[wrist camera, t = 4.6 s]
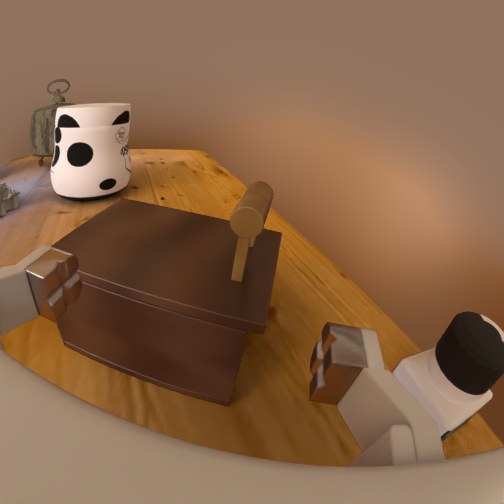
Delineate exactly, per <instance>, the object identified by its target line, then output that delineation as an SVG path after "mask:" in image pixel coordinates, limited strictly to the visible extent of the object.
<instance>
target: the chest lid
mask: <svg viewBox="0 0 504 504" xmlns="http://www.w3.org/2000/svg"><path fill="white" fill-rule="evenodd" d="M272 199H273V190H272V188H271V187H270V186H269V185H268V184H267V183H265V182H261V181H258V182H254V183H253V184H251V185H250V187H249V188H248V189H247V191H246V192H245V194H244V195H243V197H242V199H241V200H240V202H239V203H238V205H237V206H236V208H235V209H234V211H233V213H232V214H231V216H230V221H228V220H224V219H219V218H215V217H210V216H206V215H201V214H196V213H192V212H187V211H182V210H178V209H173V208H168V207H163V206H159V205H154V204H149V203H144V202H139V201H134V200H129V199H124V198H122V199H121V200H119V201H118V202H116V203H114V204H113V205H111V206H110V207H108V208H106V209H105V210H103V211H102V212H100V213H99V214H97V215H95V216H94V217H92V218H91V219H89V220H88V221H86V222H85V223H83V224H82V225H80V226H79V227H78V228H76V229H75V230H73V231H72V232H70V233H69V234H68V235H66V236H65V237H63V238H62V239H60V240H59V241H58V242H56V243H55V244H54V245H52V246H51V247H53V248H56V249H59V250H61V251H64V252H67V253H70V254H72V255H74V256H76V257H77V258H78V263H79V268H78V270H77V272H78V274H79V275H80V277H81V280H82V281H84V282H87V283H90V284H93V285H95V286H98V287H101V288H104V289H107V290H109V291H112V292H115V293H118V294H121V295H124V296H127V297H130V298H133V299H136V300H139V301H142V302H145V303H149V304H152V305H155V306H158V307H161V308H165V309H168V310H171V311H175V312H178V313H182V314H185V315H188V316H192V317H196V318H199V319H203V320H206V321H210V322H214V323H218V324H222V325H225V326H229V327H233V328H237V329H241V330H245V331H250V332H254V333H258V334H263V333H264V330H265V326H266V321H267V316H268V310H269V305H270V299H271V294H272V288H273V283H274V277H275V271H276V265H277V259H278V254H279V248H280V242H281V236H282V233H280V232H276V231H272V230H267V229H263V227H264V224H265V221H266V218H267V215H268V212H269V209H270V205H271V202H272Z"/></svg>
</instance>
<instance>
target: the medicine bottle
mask: <svg viewBox="0 0 504 504" xmlns="http://www.w3.org/2000/svg"><path fill="white" fill-rule="evenodd" d="M503 373H504V333H503V331H502V330H501V329H500V328H499V327H498V326H497V325H496V324H495V323H494V322H493V321H491V320H490V319H488V318H487V317H485V316H483V315H480V314H477V313H474V312H462V313H459V314H457V315H456V316H455V317H454V319H453V320H452V322H451V323H450V325H449V326H448V328H447V330H446V331H445V333H444V334H443V336H442V337H441V339H440V340H439V341H438V343H437V344H436V346H435V347H434V348H433V349H430V350H427V351H424V352H421V353H418V354H416V355H413V356H410V357H407V358H404V359H403V360H401V362H400V363H399V365H398V366H397V367H396V369H395V370H394V371H393V373H392V374H393V375H394V376H395V377H396V378H397V379H398V380H399V381H400V382H401V384H402V385H403V386H404V387H405V388H406V389H407V390H408V391H409V392H410V393H411V394H412V396H413V397H414V398H415V399H416V400H417V401H418V402H419V403H420V404H421V405H422V407H423V408H424V409H425V410H426V411H427V412H428V413H429V414H430V415H431V417H432V418H433V419H434V420H435V421H436V422H437V424H438V428H439V432H440V437H441V441H442V442H443V441H445V440H446V439H447V438H449V437H450V436H451V435H452V434H453V433H455V432H456V431H457V430H458V429H459V428H461V427H462V426H463V425H464V424H465V423H466V422H467V421H468V420H470V419H471V418H472V417H473V416H474V415H475V414H476V413H477V412H478V411H479V410H480V409H481V408H482V407H483V406H484V405H485V404H486V403H487V402H488V401H489V400H490V399H491V398H492V396H493V395H492V392H491V391H490V388H491V387H492V386H493V385H494V384H495V383H496V381H497V380H498V379H499V378H500V377H501V376H502V375H503Z"/></svg>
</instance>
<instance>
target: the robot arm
mask: <svg viewBox="0 0 504 504" xmlns="http://www.w3.org/2000/svg"><path fill="white" fill-rule="evenodd" d="M78 268H79V263H78V258H77V257H76V256H74V255H72V254H70V253H67V252H64V251H61V250H59V249H56V248H53V247H50V246H48V245H41V246H40V247H39V248H37V249H36V250H34V251H33V252H32V253H30V254H29V255H28V256H26V257H25V258H24V259H22V260H21V261H20V262H18V263H17V264H16V265H15V266H14V265H9V266H5V267H2V268H0V336H1V335H3V334H5V333H7V332H9V331H11V330H12V329H14V328H16V327H18V326H20V325H22V324H24V323H26V322H28V321H30V320H32V319H34V318H36V317H38V316H39V315H41V316H43V317H45V318H47V319H49V320H51V321H53V322H57V321H58V320H59V319H60V318H61V316H62V315H63V314H64V313H65V312H66V311H67V305H70V304H73V303H74V302H75V301H76V300H77V299H78V298H79V295H80V293H81V290H82V281H81V277H80V275H79V274H78V272H77V270H78ZM310 372H311V374H312V375H313V378H312V380H311V382H310V395H309V401H312V402H318V403H325V404H331V405H337V406H336V407H337V409H338V411H339V413H340V414H341V416H342V418H343V419H344V421H345V423H346V424H347V426H348V428H349V430H350V431H351V433H352V435H353V436H354V438H355V440H356V442H357V443H358V445H359V447H360V448H361V450H362V453H361V454H359V455H358V456H357V457H356V458H354V459H353V460H352V461H351V462H349V463H348V464H347V467H342V466H322V465H309V464H298V463H290V462H282V461H274V460H268V459H262V458H256V457H250V456H245V455H240V454H235V453H231V452H226V451H222V450H218V449H214V448H210V447H206V446H202V445H198V444H195V443H191V442H188V441H185V440H181V439H178V438H175V437H172V436H169V435H166V434H163V433H160V432H157V431H154V430H151V429H149V428H146V427H143V426H141V425H138V424H136V423H133V422H131V421H128V420H126V419H123V418H121V417H119V416H116V415H114V414H112V413H110V412H107V411H105V410H103V409H101V408H99V407H97V406H94V405H92V404H90V403H88V402H86V401H84V400H82V399H80V398H79V397H77V396H75V395H73V394H71V393H69V392H67V391H65V390H64V389H62V388H60V387H58V386H57V385H55V384H53V383H51V382H50V381H48V380H46V379H45V378H43V377H41V376H40V375H38V374H37V373H35V372H34V371H32V370H30V369H29V368H27V367H26V366H24V365H23V364H21V363H20V362H18V361H17V360H16V359H14V358H13V357H11V356H10V355H9V354H7V353H6V352H4V351H3V343H2V341H1V339H0V504H504V447H501V448H497V449H494V450H490V451H486V452H482V453H478V454H474V455H469V456H464V457H459V458H454V459H448V460H445V456H444V451H443V446H442V441H441V437H440V432H439V428H438V424H437V422H436V421H435V420H434V419H433V418H432V417H431V415H430V414H429V413H428V412H427V411H426V410H425V409H424V408H423V407H422V405H421V404H420V403H419V402H418V401H417V400H416V399H415V398H414V397H413V396H412V394H411V393H410V392H409V391H408V390H407V389H406V388H405V387H404V386H403V385H402V384H401V382H400V381H399V380H398V379H397V378H396V377H395V376H394V375H393V374H392V373H391V372H390V371H387V370H385V366H384V362H383V357H382V353H381V349H380V345H379V341H378V337H377V333H376V331H375V330H373V329H366V328H360V327H359V328H357V327H351V326H346V325H341V324H335V323H330V322H327V323H326V324H325V325H324V328H323V330H322V339H321V340H320V341H318V342H317V343H316V345H315V347H314V350H313V353H312V357H311V362H310Z"/></svg>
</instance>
